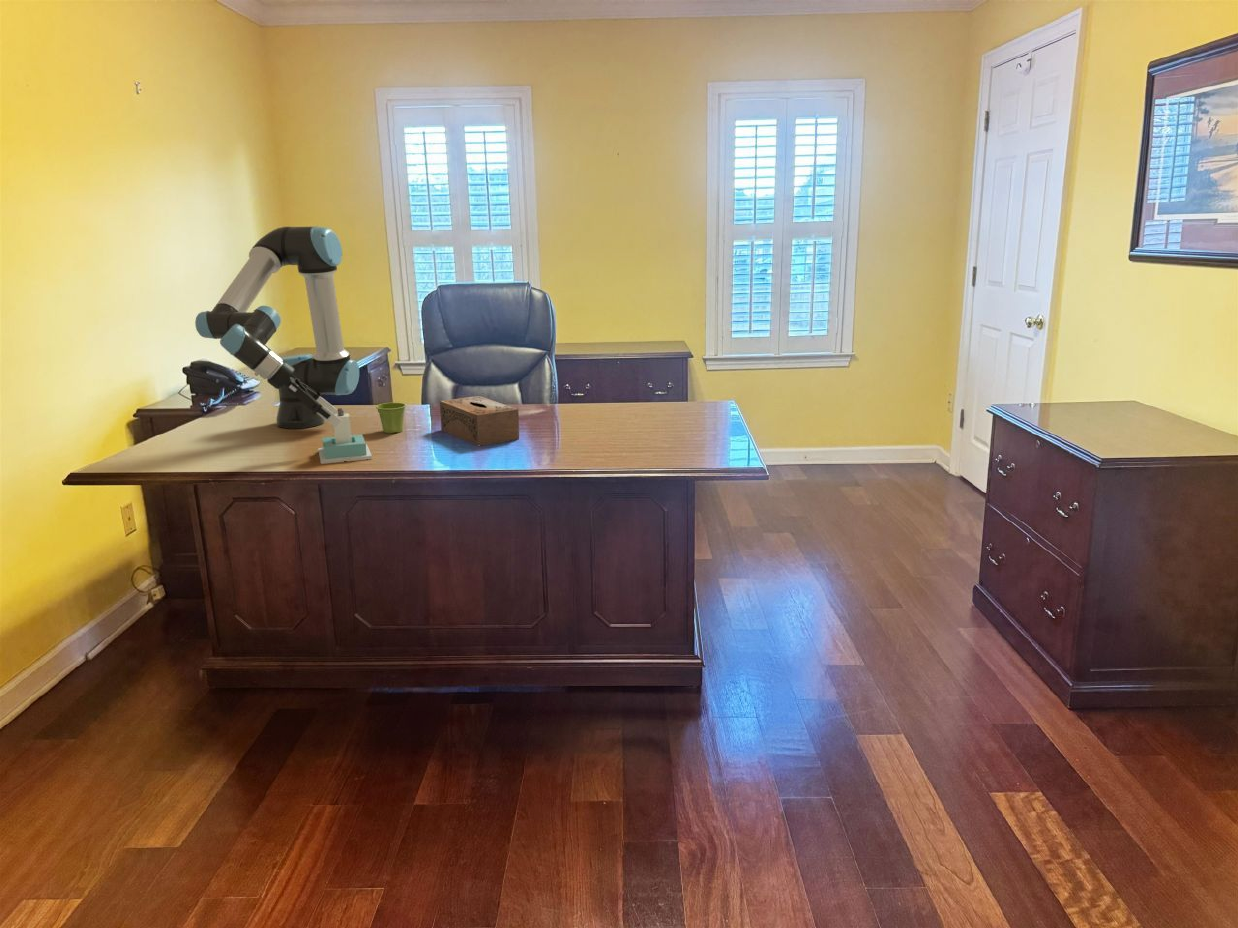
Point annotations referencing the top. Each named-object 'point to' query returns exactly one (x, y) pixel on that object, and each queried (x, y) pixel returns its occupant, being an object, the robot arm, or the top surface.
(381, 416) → the plant pot
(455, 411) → the tissue box cover
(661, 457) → the top surface
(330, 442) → the socket
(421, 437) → the top surface
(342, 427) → the plug
